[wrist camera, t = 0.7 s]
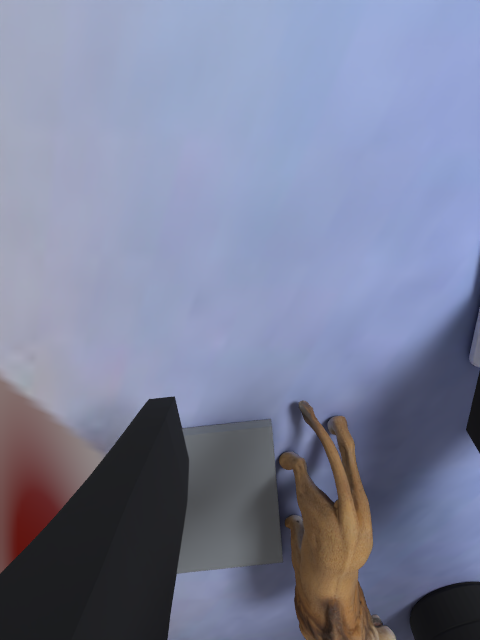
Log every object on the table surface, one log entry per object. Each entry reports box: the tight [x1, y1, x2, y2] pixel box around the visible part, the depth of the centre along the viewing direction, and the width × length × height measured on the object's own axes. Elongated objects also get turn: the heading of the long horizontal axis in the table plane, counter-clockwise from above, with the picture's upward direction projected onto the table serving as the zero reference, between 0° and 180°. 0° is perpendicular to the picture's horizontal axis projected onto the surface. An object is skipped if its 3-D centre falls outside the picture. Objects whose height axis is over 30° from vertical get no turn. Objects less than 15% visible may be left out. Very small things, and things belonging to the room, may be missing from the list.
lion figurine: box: [279, 401, 396, 640], centre depth 19 cm, size 15×5×9 cm, turn 13°
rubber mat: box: [177, 419, 283, 573], centre depth 23 cm, size 8×13×1 cm, turn 6°
